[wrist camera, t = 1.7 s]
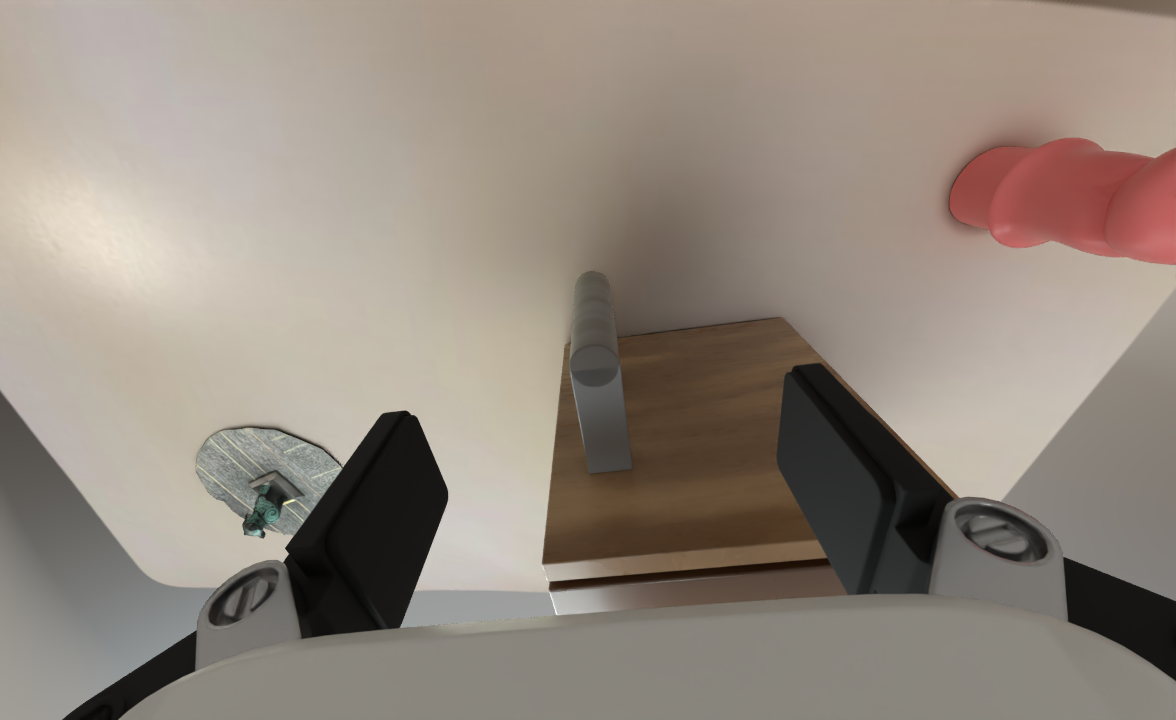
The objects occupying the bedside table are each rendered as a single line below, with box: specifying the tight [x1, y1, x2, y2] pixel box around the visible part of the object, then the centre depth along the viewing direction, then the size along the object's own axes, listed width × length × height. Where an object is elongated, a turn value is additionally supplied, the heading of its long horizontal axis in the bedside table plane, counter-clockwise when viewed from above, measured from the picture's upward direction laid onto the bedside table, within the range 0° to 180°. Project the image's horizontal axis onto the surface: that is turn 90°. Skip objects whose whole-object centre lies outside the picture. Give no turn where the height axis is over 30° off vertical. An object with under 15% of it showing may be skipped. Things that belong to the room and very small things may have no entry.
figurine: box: [949, 138, 1176, 265], centre depth 16 cm, size 5×5×15 cm
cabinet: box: [549, 558, 848, 615], centre depth 24 cm, size 12×14×16 cm
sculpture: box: [196, 428, 342, 538], centre depth 34 cm, size 12×9×8 cm
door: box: [542, 271, 959, 582], centre depth 19 cm, size 7×14×16 cm, turn 98°
